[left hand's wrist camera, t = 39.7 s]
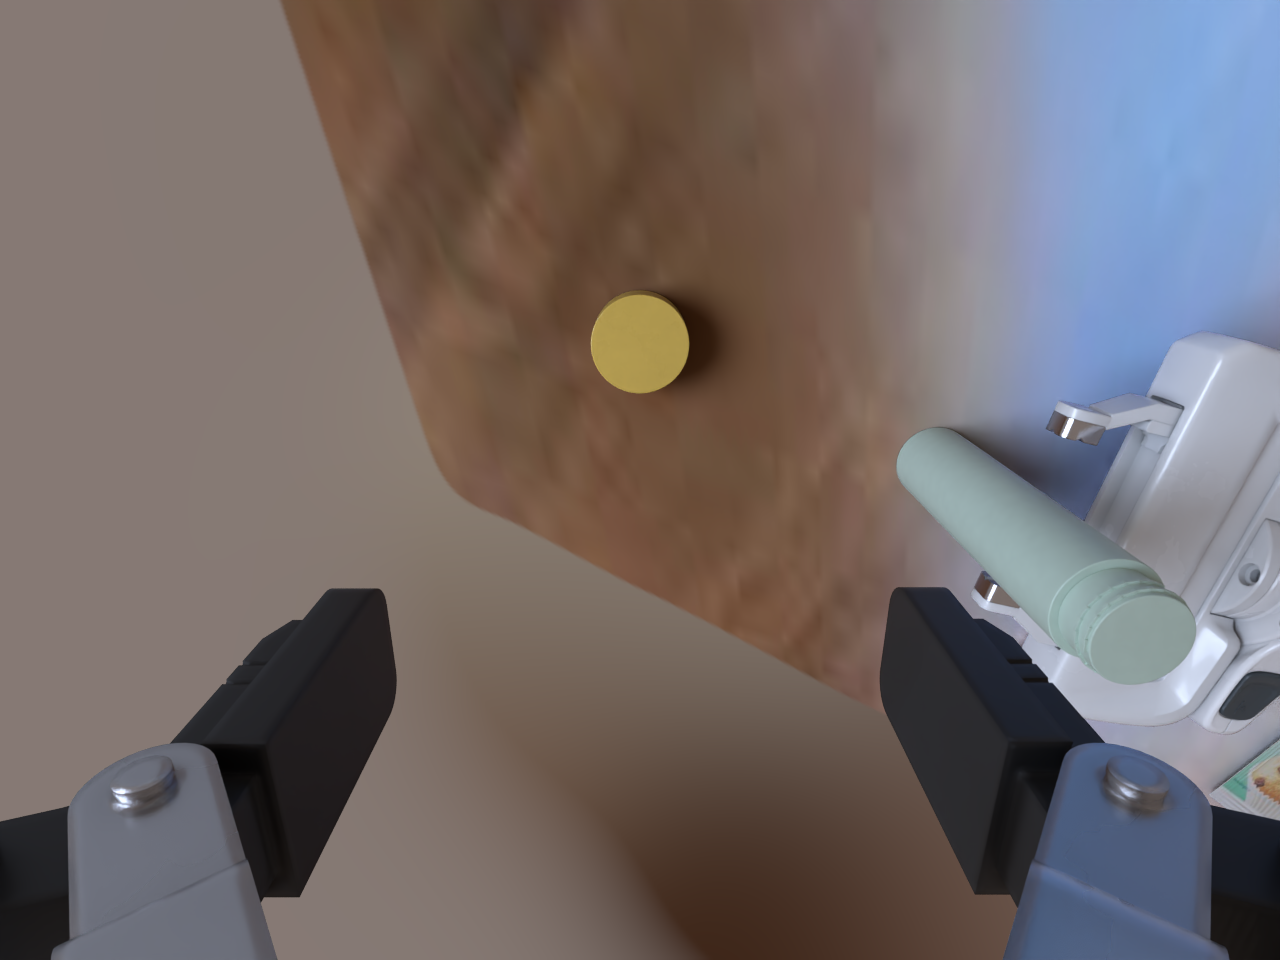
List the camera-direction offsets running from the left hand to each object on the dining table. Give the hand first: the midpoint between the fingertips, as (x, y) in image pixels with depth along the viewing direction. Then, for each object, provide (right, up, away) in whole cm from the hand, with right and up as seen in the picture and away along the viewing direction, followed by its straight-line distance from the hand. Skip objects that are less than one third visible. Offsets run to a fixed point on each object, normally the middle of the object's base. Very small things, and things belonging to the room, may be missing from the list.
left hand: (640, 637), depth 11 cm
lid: (0, +10, +26) cm, 27 cm away
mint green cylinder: (+17, +4, +30) cm, 34 cm away
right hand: (+19, +1, +24) cm, 31 cm away
